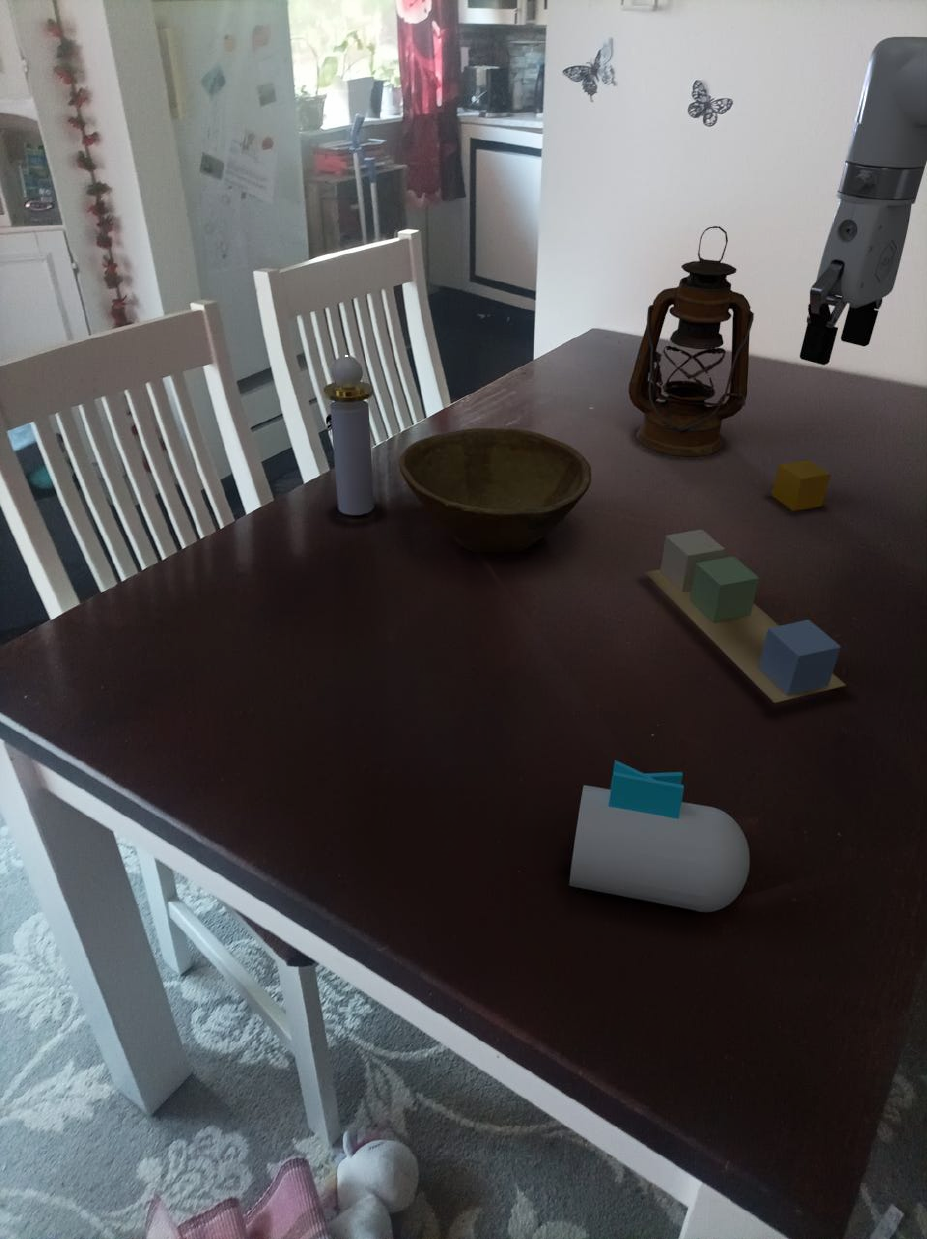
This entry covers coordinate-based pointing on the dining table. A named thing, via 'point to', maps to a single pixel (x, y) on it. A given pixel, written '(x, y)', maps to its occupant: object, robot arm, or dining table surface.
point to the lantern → (700, 311)
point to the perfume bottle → (351, 436)
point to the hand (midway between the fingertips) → (834, 352)
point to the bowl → (495, 485)
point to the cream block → (687, 556)
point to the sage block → (723, 589)
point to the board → (737, 639)
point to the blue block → (798, 657)
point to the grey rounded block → (657, 844)
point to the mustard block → (801, 485)
